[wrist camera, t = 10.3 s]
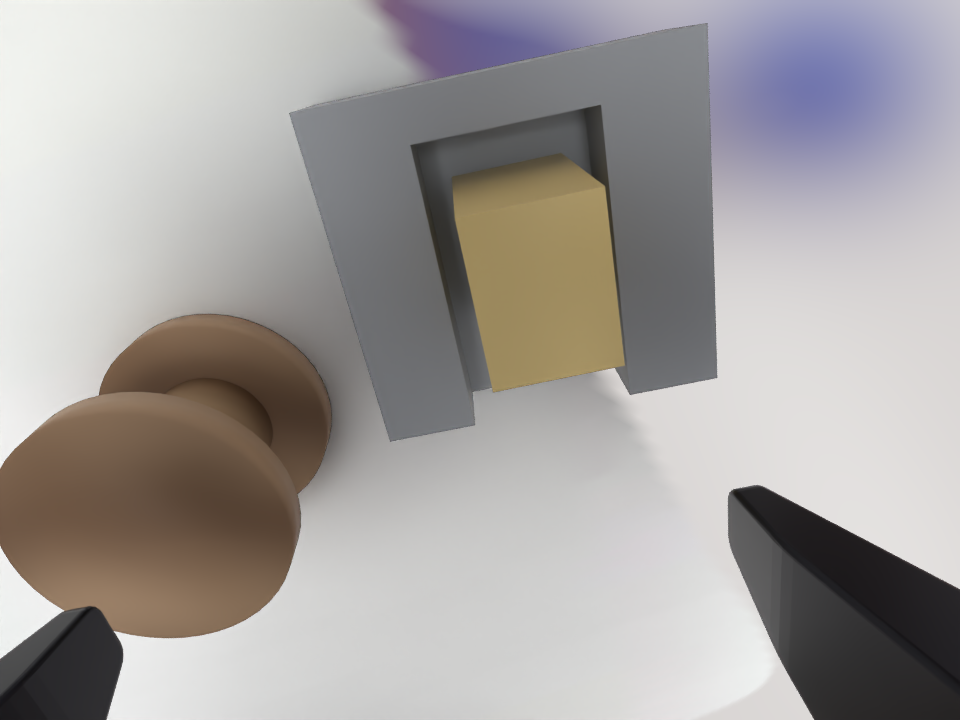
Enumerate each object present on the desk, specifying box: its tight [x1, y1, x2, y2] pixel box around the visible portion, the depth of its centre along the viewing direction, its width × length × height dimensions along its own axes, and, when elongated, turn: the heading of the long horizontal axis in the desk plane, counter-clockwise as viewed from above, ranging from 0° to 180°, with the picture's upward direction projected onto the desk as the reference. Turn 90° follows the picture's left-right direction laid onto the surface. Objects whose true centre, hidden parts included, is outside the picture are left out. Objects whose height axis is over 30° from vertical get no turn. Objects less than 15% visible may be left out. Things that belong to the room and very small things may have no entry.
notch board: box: [289, 23, 717, 442], centre depth 17 cm, size 9×10×3 cm
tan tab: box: [452, 153, 625, 392], centre depth 15 cm, size 4×3×5 cm
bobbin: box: [0, 314, 332, 638], centre depth 18 cm, size 7×7×6 cm
